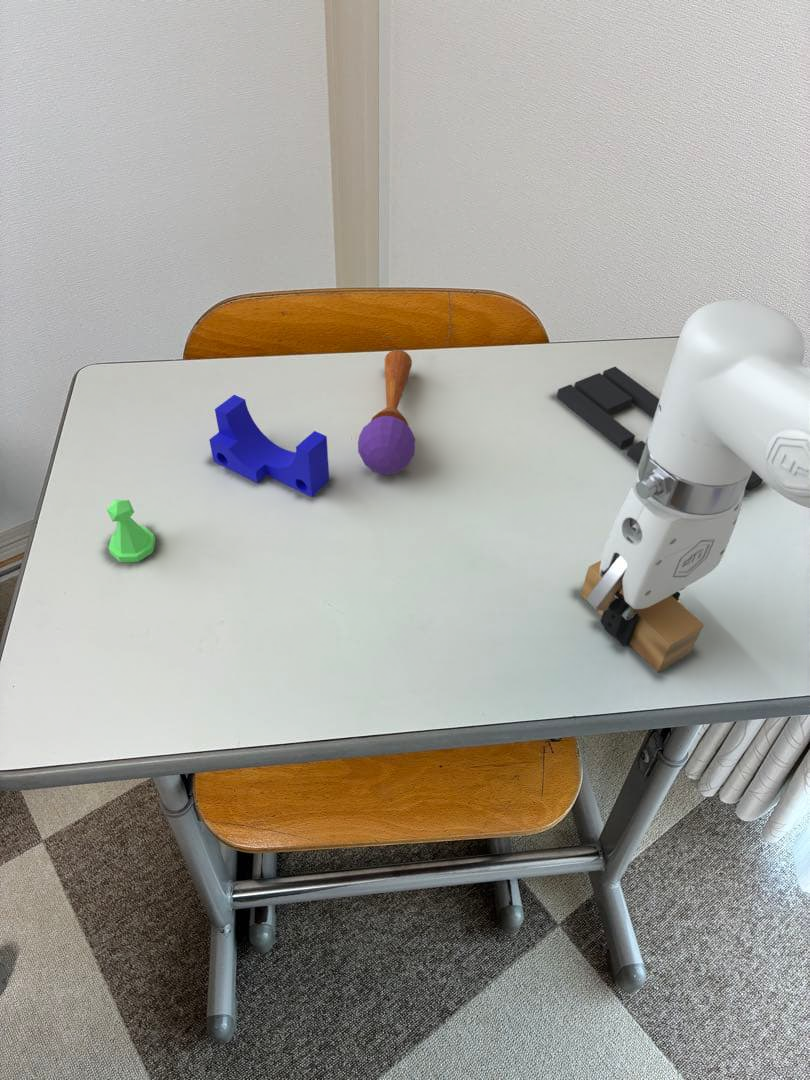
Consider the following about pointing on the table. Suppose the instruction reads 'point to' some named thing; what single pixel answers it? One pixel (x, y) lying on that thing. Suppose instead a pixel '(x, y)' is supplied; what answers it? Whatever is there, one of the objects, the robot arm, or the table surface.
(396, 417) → the kendama
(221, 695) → the table surface
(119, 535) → the game piece
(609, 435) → the pad
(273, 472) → the blue cradle bracket
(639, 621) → the block
